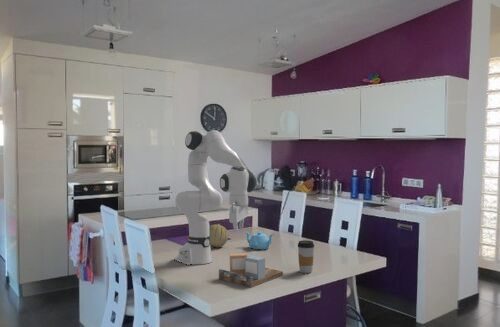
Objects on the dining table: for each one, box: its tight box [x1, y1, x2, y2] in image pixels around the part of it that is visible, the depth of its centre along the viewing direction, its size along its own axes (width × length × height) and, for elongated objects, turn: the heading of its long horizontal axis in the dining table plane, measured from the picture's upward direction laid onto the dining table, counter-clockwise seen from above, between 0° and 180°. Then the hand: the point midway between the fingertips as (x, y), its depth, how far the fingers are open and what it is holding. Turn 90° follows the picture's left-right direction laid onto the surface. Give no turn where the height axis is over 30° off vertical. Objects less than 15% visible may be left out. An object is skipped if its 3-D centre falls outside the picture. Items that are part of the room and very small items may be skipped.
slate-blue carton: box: [245, 255, 266, 280], centre depth 195 cm, size 5×8×9 cm, turn 50°
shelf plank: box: [218, 267, 284, 288], centre depth 202 cm, size 20×24×4 cm
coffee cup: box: [297, 239, 315, 274], centre depth 212 cm, size 8×8×15 cm
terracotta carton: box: [229, 252, 248, 274], centre depth 202 cm, size 5×8×9 cm, turn 97°
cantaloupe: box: [209, 222, 229, 248], centre depth 268 cm, size 15×15×15 cm
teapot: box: [245, 231, 274, 250], centre depth 265 cm, size 15×15×10 cm
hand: (238, 229), depth 202 cm, fingers open, 8 cm apart
